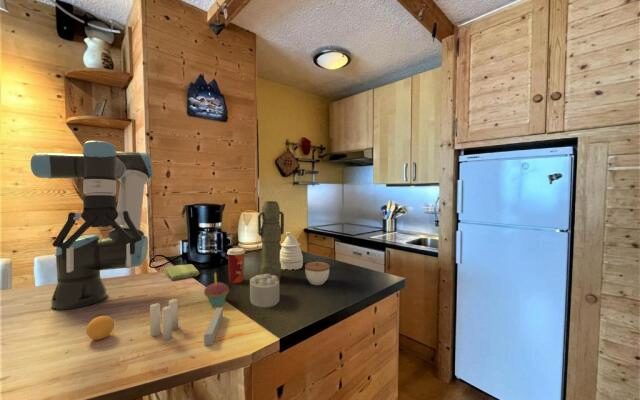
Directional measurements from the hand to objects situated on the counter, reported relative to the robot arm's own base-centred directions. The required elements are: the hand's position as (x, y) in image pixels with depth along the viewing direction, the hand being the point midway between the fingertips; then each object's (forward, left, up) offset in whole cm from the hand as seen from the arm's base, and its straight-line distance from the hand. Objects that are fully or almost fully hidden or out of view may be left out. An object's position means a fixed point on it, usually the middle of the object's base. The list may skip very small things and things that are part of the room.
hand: (100, 268), depth 80 cm
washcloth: (+6, +50, -19) cm, 54 cm away
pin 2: (+20, -2, -18) cm, 27 cm away
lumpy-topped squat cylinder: (+46, +14, -18) cm, 52 cm away
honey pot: (+58, +55, -18) cm, 82 cm away
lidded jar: (+68, +29, -18) cm, 76 cm away
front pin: (+16, -5, -18) cm, 25 cm away
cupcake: (+29, +14, -18) cm, 37 cm away
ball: (+2, -5, -15) cm, 16 cm away
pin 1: (+20, -7, -18) cm, 28 cm away
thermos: (+48, +37, -18) cm, 63 cm away
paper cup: (+33, +36, -18) cm, 52 cm away
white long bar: (+32, -5, -18) cm, 37 cm away
